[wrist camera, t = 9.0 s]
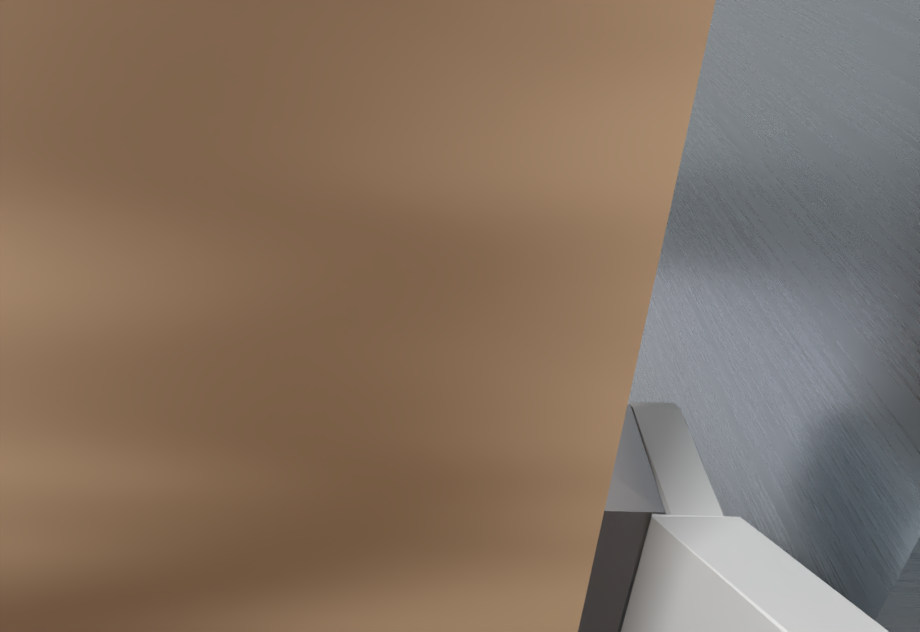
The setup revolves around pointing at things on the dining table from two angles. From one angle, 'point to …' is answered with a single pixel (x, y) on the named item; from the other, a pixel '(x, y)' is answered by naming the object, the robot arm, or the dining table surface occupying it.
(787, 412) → the rail and cabinet
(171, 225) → the carriage
